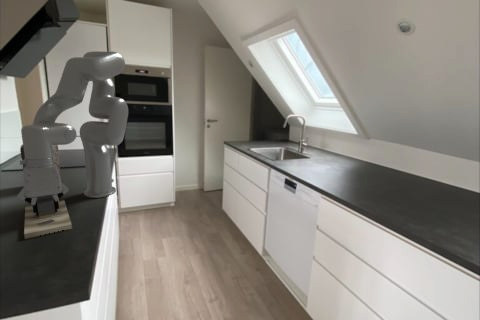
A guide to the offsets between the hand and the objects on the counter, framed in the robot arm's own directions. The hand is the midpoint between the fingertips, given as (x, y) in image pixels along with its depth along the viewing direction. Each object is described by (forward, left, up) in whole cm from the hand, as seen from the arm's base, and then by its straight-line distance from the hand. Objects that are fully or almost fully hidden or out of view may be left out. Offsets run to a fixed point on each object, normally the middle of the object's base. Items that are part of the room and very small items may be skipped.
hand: (46, 212), depth 93 cm
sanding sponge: (0, 0, 0) cm, 0 cm away
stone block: (-30, -21, -2) cm, 37 cm away
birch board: (+2, +1, -2) cm, 3 cm away
